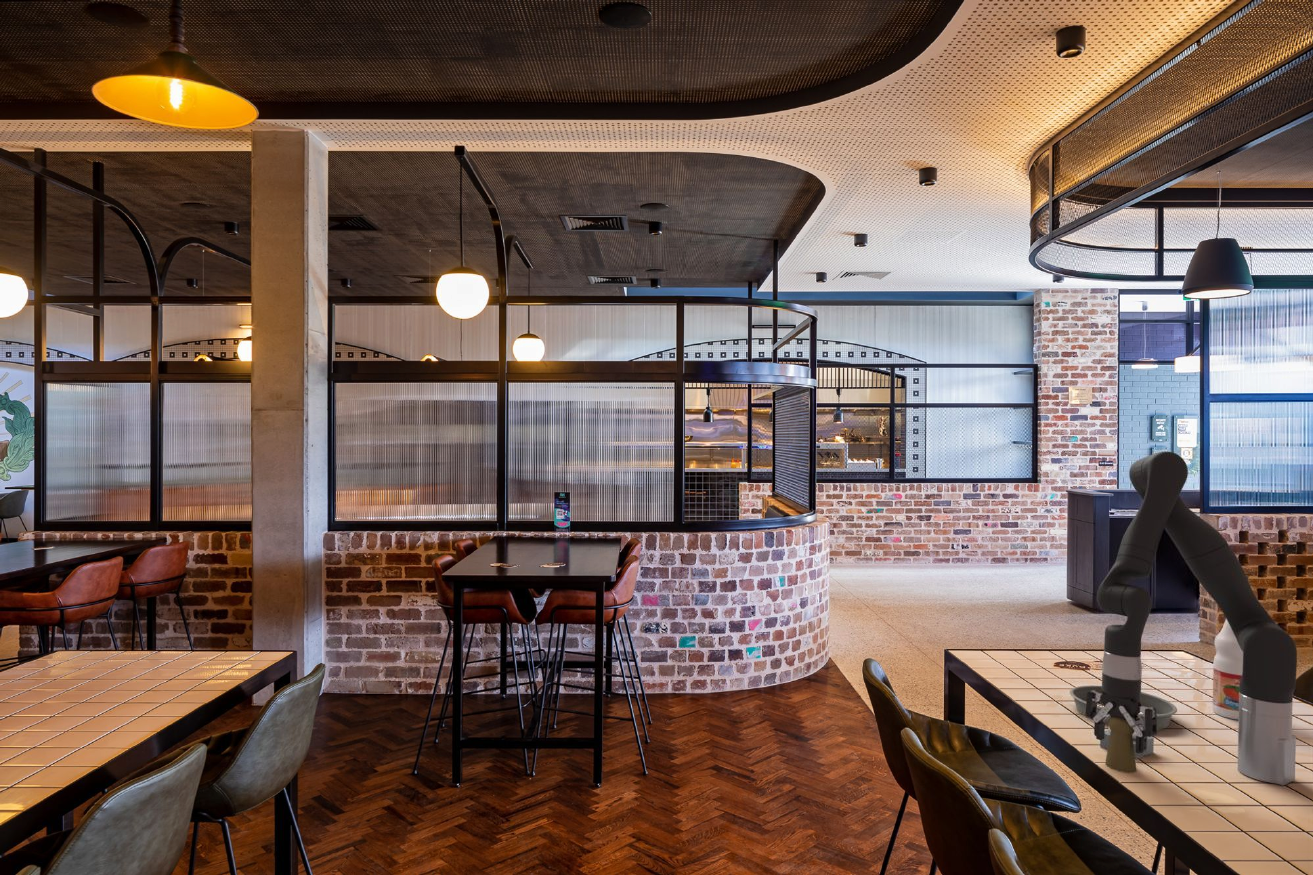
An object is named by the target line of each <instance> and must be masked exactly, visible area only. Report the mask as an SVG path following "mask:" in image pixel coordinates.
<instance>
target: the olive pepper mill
mask: <svg viewBox="0 0 1313 875" xmlns="http://www.w3.org/2000/svg"><path fill="white" fill-rule="evenodd" d="M1107 725H1108V729H1109V728H1110V730H1111V733H1110V739H1109V745H1108V750H1107V749H1106V750H1107V752H1106V756H1105V763H1104V764H1105V766H1106V767H1108V768H1110V769H1111V770H1115V771H1117V772H1121V773H1127V774H1130V773H1136V772H1137V763H1136V759H1135V753H1134V745H1133V737H1132V734H1133V733H1134V732H1135V731H1134V729H1133V728H1132V727H1131V726H1130V725H1129V723H1128V722H1127V721H1126V720H1124V719H1121V718H1118V717H1110V718H1109V721H1108V724H1107Z"/></svg>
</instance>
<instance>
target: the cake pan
mask: <svg viewBox="0 0 1313 875" xmlns="http://www.w3.org/2000/svg"><path fill="white" fill-rule="evenodd" d="M1094 690H1096V691H1098V693H1100V694H1102V685H1080V686H1076V687H1075V686H1074V687H1073V688H1071V689H1070V690H1069V695H1070V696H1071V697H1072V698H1073V699H1074V703H1075V708H1076V711H1077V712H1078V713H1080V714H1081V715H1082V716H1085V717H1087V716H1086V715H1085V712H1086V702H1087V693H1088V692H1090V691H1094ZM1097 703H1102V702H1101V700H1099V701H1098V702H1097ZM1140 703H1141V705H1142V706H1144V707H1148V708H1151V707H1154V708H1156V713H1157V729H1158V730H1163V729H1166V728H1168V727H1169V726H1170V722H1171V719H1172V716H1174V715H1175V714H1177V712H1178V708H1177V706H1176V705H1175V704H1174V703H1172V702H1170V701H1168V700H1166V699H1164V698H1161V697H1159V696H1156V695H1153V694H1150V693H1147V692H1142V691H1141V698H1140ZM1100 706H1104V705H1103V704H1102V705H1099V706H1097V714H1098V712H1099V711H1100V710H1101V709H1102V708H1104V707H1100ZM1139 716H1140V717H1141V719H1142V721H1143V725H1144V726H1145V717H1144V716H1143V714H1139ZM1110 717H1111V716H1110V715H1109V716H1108V717H1107V718H1106V719H1105V720H1104V721H1103V722H1104V723H1105V724H1106V723H1107V724H1106V725H1108V721H1109V718H1110ZM1088 719H1091V718H1090V717H1088ZM1133 720H1134V721H1135V719H1134V718H1133Z"/></svg>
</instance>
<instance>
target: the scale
mask: <svg viewBox="0 0 1313 875" xmlns="http://www.w3.org/2000/svg"><path fill="white" fill-rule="evenodd" d="M1110 733H1111V730H1110V728H1109V727H1108V729H1105V735H1104V739H1102V740H1099V748H1101V749H1104V748H1105V749H1104V750H1108V745H1109V739H1110ZM1136 736H1137V734H1136V732H1134V733H1133V734H1132V737H1133V745H1134V753H1135V760H1138V759H1140V758H1139V757H1141V758H1143V757H1145V756H1144V755H1146V756H1148V755H1147V754H1149V755H1151V754H1153V753H1154V744H1155V740H1154V739H1155V738H1154V736H1151V737H1147V749H1146V751H1144V752H1143V753H1141V754H1139V753H1136V751H1135V750H1136ZM1142 756H1143V757H1142ZM1137 758H1138V759H1137Z"/></svg>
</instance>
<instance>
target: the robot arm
mask: <svg viewBox="0 0 1313 875" xmlns="http://www.w3.org/2000/svg"><path fill="white" fill-rule="evenodd" d="M1128 475H1129V476H1128V477H1129V481H1130V482H1131V485H1132V487H1133V488H1134V490H1135V491H1136V493H1137V494H1138V495H1139V497H1140V498H1141V499H1142V502H1141V505H1140V507H1139V509H1138V510H1137V512H1136V515H1134V517H1133V518H1132V520H1131V522H1130V524H1129V525H1128V527H1127V528H1126V530H1125V533H1124V534H1123V537H1122V539H1121V542H1120V544H1119V549H1118V552H1117V555H1116V559H1115V562H1114V564H1113V565H1112V567H1111V568H1110V570H1109V571H1108V573H1107V574H1106V576H1105V578H1104V579H1103V580H1102V582H1101V583H1100V585H1099V586H1098V589H1097V592H1096V603H1097V605H1098V608H1100V610H1101V611H1103V612H1104V613H1109V614H1113V615H1117V616H1123V617H1126V618H1127V619H1126V620H1125V623H1124V624H1110V625H1107V626H1106V627H1105V630H1104V641H1103V643H1104V646H1103V647H1104V648H1103V656H1102V665H1101V669H1102V670H1101V686H1102V694H1100V693H1098V691H1096V690H1094V691H1090V692H1088V693H1087V702H1086V712H1085V715H1086V716H1085V715H1084V716H1085V717H1087V718H1089V717H1090V718H1089V719H1091V720H1092V721H1093V723H1094V725H1093V726H1094V727H1093V728H1094V729H1093V734H1094V737H1095V739H1096V740H1099V741H1100V740H1102V739H1104V735H1105V731H1106V729H1105V728H1106V723H1104V722H1103V721H1104V720H1105V719H1106V718H1107V717H1108V716H1109V715H1110V716H1111V717H1118V718H1121V719H1124V720H1126V721H1127V722H1128V723H1129V725H1130V726H1131V727H1132V728H1133V729H1134V731H1135V732H1136V734H1137V736H1136V750H1135V751H1136V753H1139V754H1141V753H1143V752H1144V751H1146V749H1147V737H1155V736H1156V735H1158V730H1157V713H1156V708H1154V707H1151V708H1148V707H1144V706H1142V705H1141V703H1140V698H1141V692H1142V674H1143V673H1142V672H1143V666H1142V664H1143V663H1142V657H1141V656H1142V653H1141V652H1142V637H1143V633H1144V630H1145V627H1146V624H1147V620H1148V618H1149V615H1150V613H1151V611H1152V606H1153V599H1152V596H1151V594H1150V592H1149V591H1148V590H1147V589H1146V588H1145V587H1142V586H1138V585H1132V584H1128V583H1129V582H1130V581H1134V580H1138V579H1140V580H1141V579H1147V578H1149V576H1150V575H1151V572H1152V571H1153V566H1154V562H1155V559H1156V555H1157V551H1158V547H1159V544H1160V542H1161V539H1162V535H1163V532H1164V530H1165V531H1166V533H1167V535H1168V536H1169V537H1170V539H1171V541H1172V542H1173V543H1174V545H1175V547H1176V548H1177V550H1178V552H1179V553H1180V555H1181V556H1182V558H1183V559H1184V562H1185V563H1186V565H1187V566H1188V567H1189V570H1190V571H1191V572H1192V574H1193V576H1194V577H1195V579H1197V581H1198V582H1199V584H1200V585H1201V586H1202V587H1203V589H1204V591H1206V593H1207V594H1208V595H1209V596H1210V598H1212V600H1213V601H1214V602H1215V603H1216V605H1217V606H1218V607H1219V609H1220V610H1221V612H1222V614H1223V616H1225V620H1226V619H1227V621H1228V623H1229V625H1230V627H1231V629H1232V631H1233V633H1234V635H1235V637H1236V639H1237V642H1238V644H1239V646H1240V648H1241V650H1242V651H1243V672H1242V678H1241V680H1240V682H1239V720H1238V721H1237V722H1238V724H1237V725H1238V732H1237V733H1238V734H1237V771H1238V772H1240V773H1241V774H1243V775H1245V776H1247V777H1249V778H1252V779H1254V780H1258V781H1261V782H1266V783H1270V784H1277V785H1281V786H1286V785H1287V784H1290V783H1291V782H1293V781H1295V780H1296V748H1297V747H1296V744H1297V743H1296V742H1297V741H1296V739H1297V737H1296V735H1295V734H1294V735H1293V706H1294V705H1293V701H1294V700H1293V698H1294V696H1293V695H1294V692H1295V690H1296V684H1297V671H1298V670H1297V669H1298V668H1297V666H1298V650H1297V645H1296V642H1295V640H1294V639H1293V637H1292V636H1291V635H1290V634H1289V633H1287V632H1286V631H1285V630H1284V629H1283V628H1281V626H1279V625H1278V624H1277V622H1275V620H1274V619H1273V618H1272V617H1271V615H1270V614H1269V613H1268V612H1267V610H1266V609H1265V608H1264V607H1263V605H1262V604H1261V602H1260V601H1259V600H1258V598H1257V597H1256V595H1255V593H1254V591H1253V589H1252V586H1251V584H1250V581H1249V579H1248V577H1247V574H1246V572H1245V570H1244V568H1243V566H1242V564H1241V562H1240V560H1239V559H1238V557H1237V555H1236V554H1235V552H1234V551H1233V549H1232V547H1231V546H1230V545H1229V542H1227V540H1226V539H1225V537H1224V536H1223V535H1222V534H1221V533H1220V532H1219V531H1218V530H1217V529H1216V528H1215V527H1213V526H1212V525H1211V524H1209V522H1207V521H1206V520H1204V519H1203V518H1202V517H1200V516H1199V515H1198V514H1196V513H1195V512H1194V511H1192V509H1190V507H1188V505H1187V504H1186V503H1185V502H1184V501H1183V499H1182V497H1181V496H1180V495H1181V492H1182V490H1183V488H1184V486H1185V484H1186V482H1187V480H1188V476H1189V469H1188V466H1187V463H1186V461H1185V460H1184V458H1183V457H1182V456H1181V455H1180V454H1178V453H1175V452H1173V451H1168V450H1167V451H1166V450H1165V451H1159V452H1156V453H1152V454H1149V455H1148V456H1145V457H1142V458H1139V459H1138V460H1136V461H1135V462H1133V463H1132V464H1131V465H1130V468H1129V472H1128ZM1099 700H1101V702H1100V703H1102V705H1104V708H1102V709H1101V710H1100V711H1099V712H1098V714H1097V705H1098V703H1099V702H1098V701H1099ZM1140 712H1142V713H1143V716H1144V717H1145V726H1144V725H1143V721H1142V719H1141V717H1140V716H1139V713H1140ZM1133 718H1134V719H1135V721H1134V720H1133Z"/></svg>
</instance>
